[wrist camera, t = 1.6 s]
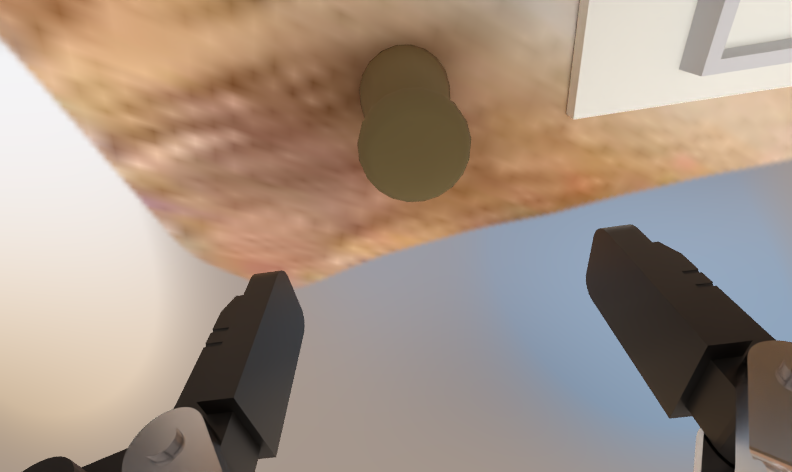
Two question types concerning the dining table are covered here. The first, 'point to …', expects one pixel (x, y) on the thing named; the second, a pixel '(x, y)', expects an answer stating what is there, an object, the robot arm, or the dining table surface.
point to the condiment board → (676, 52)
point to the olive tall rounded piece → (410, 126)
